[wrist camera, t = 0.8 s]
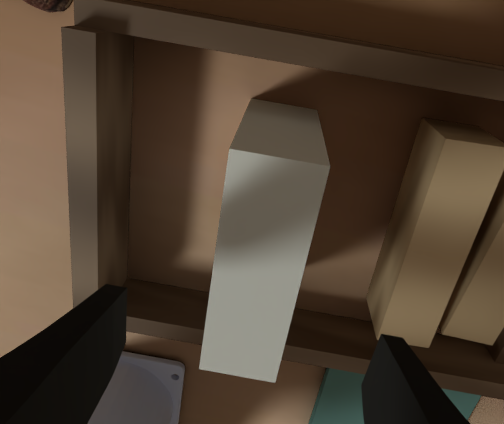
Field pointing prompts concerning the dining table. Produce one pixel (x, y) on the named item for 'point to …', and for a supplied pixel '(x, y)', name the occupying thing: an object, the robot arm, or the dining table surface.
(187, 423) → the dining table surface
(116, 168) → the rack
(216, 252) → the grey sheet
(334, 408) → the mat
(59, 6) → the wooden tablet
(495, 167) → the offcut block large
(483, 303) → the offcut block small
